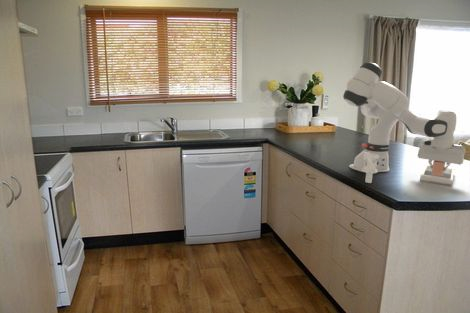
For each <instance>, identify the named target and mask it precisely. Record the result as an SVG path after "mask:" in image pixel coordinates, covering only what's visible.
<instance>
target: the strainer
mask: <svg viewBox="0 0 470 313" xmlns="http://www.w3.org/2000/svg"><path fill="white" fill-rule="evenodd" d="M367 155H368V156H367ZM378 158H379V155H377V154H371V153H369V152H364V158H363V159H364V160H365V164H364V168H362V171H363V172H362V173H365V183H368V184H372V181H373V175H374V174H378V172H377V171H378V170H377V169H376V165H377V160H376V159H378Z"/></svg>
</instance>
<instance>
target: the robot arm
mask: <svg viewBox="0 0 470 313" xmlns="http://www.w3.org/2000/svg"><path fill="white" fill-rule="evenodd" d="M382 70H383V69H382V68H381V67H380V66H379V65H378V64H377V63H375V62H372V61H371V62H370V61H367V62H364V63H363V64H362V65H361V66H360V67H359V69H358V70H357V71H356V73H355V74H354V75H353V77H352V78H350V79H349V80H348V82H347V84H346V90H345V91H344V93H343V96H342V97H343V100H344V101H345V102H346V103H347V104H348V105H350V106H352V107H360V112H361V114H362V115H363V116H365V117H368V118H372V119H378V122H377V123H376V125H374V126H372V127H371V128H370V129H369V131H368V139H367V140H368V141H367V142H366V143H362V144H361V146H362V148H364V150H362V151H361V152H360V153H359V154H357V155H356V156H355V158H354V161H353V163H352V164H349V165H348V166H349V168H350V169H352V170H355V171H358V172H362V173H364V172H363V171H362V168H364V164H365V160H364V159H363V158H364V152H369V153H371V154H377V155H379V158H378V159H376V160H377V165H376V169H377V170H378V171H377V173H382V172H383V173H385V172H390V167H389V164H390V163H389V162H390V160H389V156H390V155H389V152H390V146H391V145H390V139H391V133H392V130H393V128H394V126H395V125H396V123H398V122H399V121H400V122H401V123H403V124H404V126H405V128H406V130H407V131H408V132H409V133H410V134H413V135H419V136H423V137H425V138H427V139H424V140H422V141H421V146H419V149H418V153H417V158H418V159H421V160H427V162H428V165H429V166H430V169H432V168H433V163H432V162H433V161H440V162H445V167H443V171H447V168H449V166H451V164H453V165H463V164H464V162H465V160H464V159H465V155H466V152H467V148H466V147H465V146H464V145H461V144H460V145H458V144H454V138H455V137H454V133H455V131H456V126H457V115H456V113H455V112H454V111H450V110H443V109H441V110H438V112H437V113H435V114H433V115H430V116H426V115H421V114H417V113H413V112H412V111H411V110H409V109H408V108H407V107H408V106H409V98H408V96H407V95H406V94H405V93H404V92H403V91H401V90H400V89H398V88H397V87H396V86H395V85H393V84H390V83H388V82H386V81H381V80H380V81H379V79H381V76H382V74H383V71H382ZM367 156H368V155H367Z"/></svg>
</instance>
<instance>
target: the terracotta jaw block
mask: <svg viewBox="0 0 470 313" xmlns="http://www.w3.org/2000/svg"><path fill="white" fill-rule="evenodd" d="M432 162H433V163H432V165H433V168H432V174H431V175H437V176H442V175H443V173H444V171H443V167H446V162H440V161H434V160H432Z"/></svg>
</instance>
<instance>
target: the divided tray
mask: <svg viewBox="0 0 470 313" xmlns="http://www.w3.org/2000/svg"><path fill="white" fill-rule="evenodd" d="M431 174H432V169H430V164H428V165H427V164H426V165H424V167H423V169H422V172H421V174H420V178H419V181H420V182H424V183H430V184H435V185H436V184H437V185H444V186H451V187H452V186H453V181H454V174H455V169H454V168H449V167H447V171H444V173H443V175H442V176H437V175H431Z"/></svg>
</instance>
